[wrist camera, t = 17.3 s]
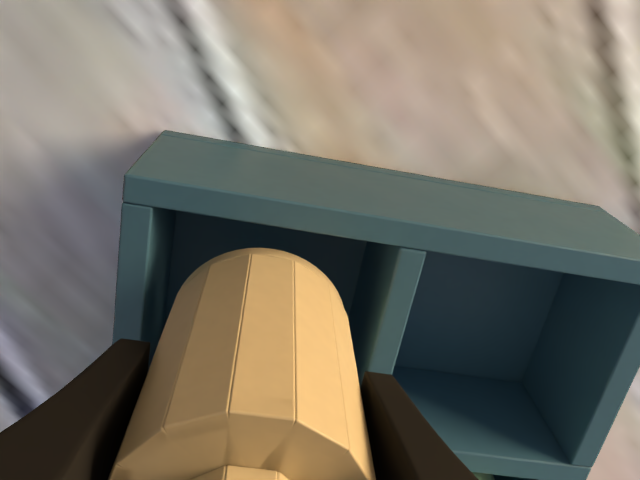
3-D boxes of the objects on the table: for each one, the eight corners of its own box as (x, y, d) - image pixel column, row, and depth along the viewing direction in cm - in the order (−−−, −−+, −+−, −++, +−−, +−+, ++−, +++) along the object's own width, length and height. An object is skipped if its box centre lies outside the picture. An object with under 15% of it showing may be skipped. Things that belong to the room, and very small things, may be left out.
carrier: (476, 520, 24) (515, 633, 20) (131, 484, 23) (94, 597, 19) (599, 205, 19) (687, 267, 15) (163, 129, 18) (123, 173, 13)
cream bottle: (329, 407, 16) (361, 744, 9) (161, 385, 16) (51, 725, 9) (364, 262, 15) (438, 532, 7) (178, 232, 14) (59, 493, 7)
